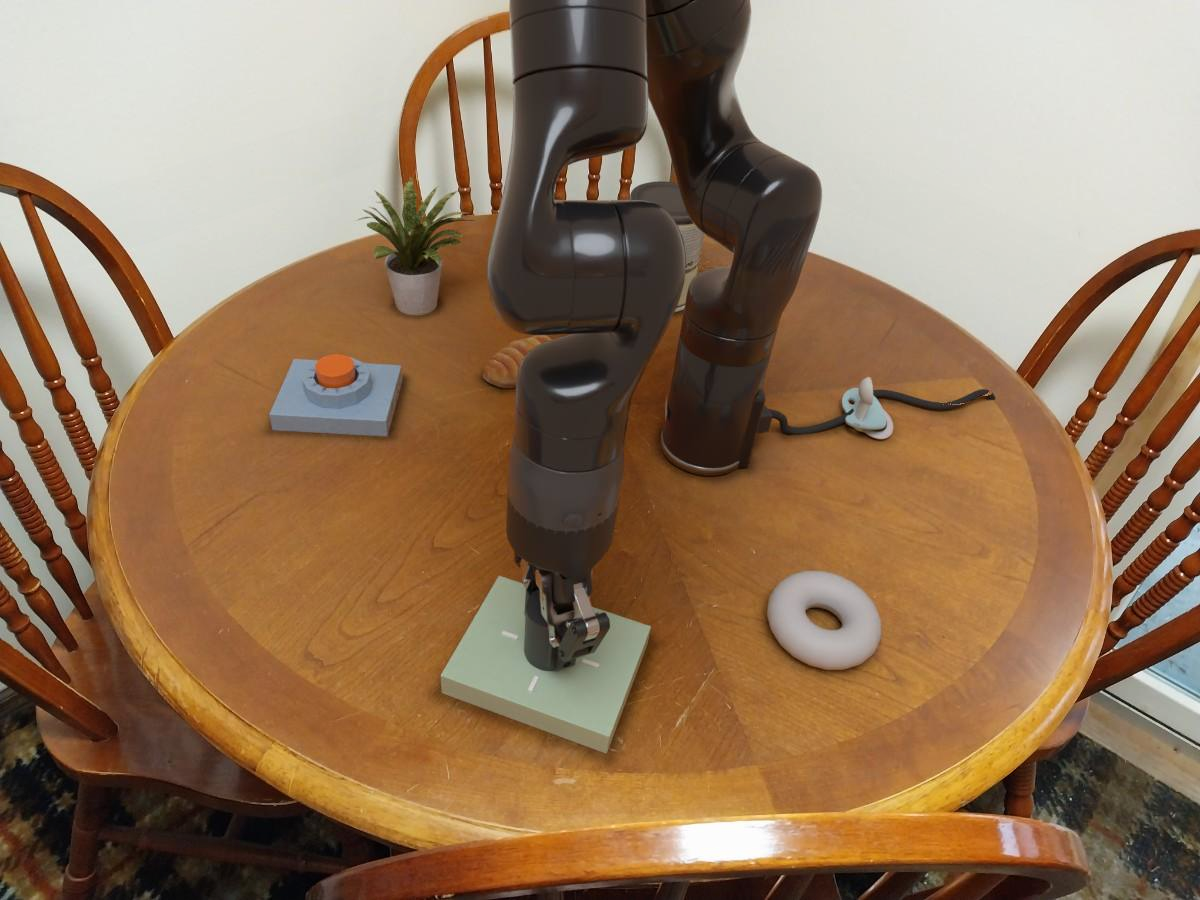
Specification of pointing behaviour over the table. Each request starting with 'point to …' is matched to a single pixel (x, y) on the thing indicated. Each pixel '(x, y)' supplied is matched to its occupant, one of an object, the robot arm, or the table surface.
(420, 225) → the house plant
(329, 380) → the button
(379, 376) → the button block
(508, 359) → the pastry
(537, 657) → the program dial
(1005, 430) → the table surface
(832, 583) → the donut
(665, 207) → the coffee can
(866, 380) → the pacifier
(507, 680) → the dial panel
